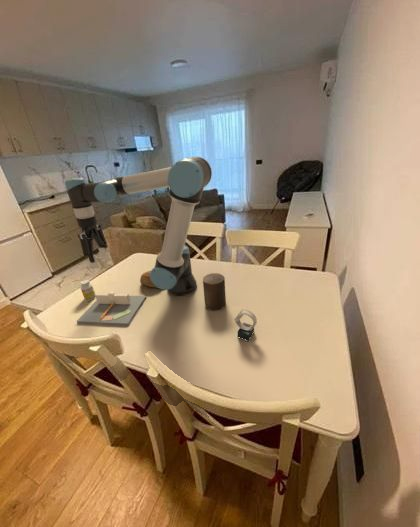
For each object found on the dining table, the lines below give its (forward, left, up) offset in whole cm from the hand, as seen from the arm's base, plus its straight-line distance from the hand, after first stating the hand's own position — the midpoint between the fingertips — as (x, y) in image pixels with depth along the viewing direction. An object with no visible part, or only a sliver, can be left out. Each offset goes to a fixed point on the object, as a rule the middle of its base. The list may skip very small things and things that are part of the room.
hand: (100, 263), depth 112 cm
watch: (-68, +22, -19) cm, 74 cm away
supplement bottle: (+11, +1, -19) cm, 22 cm away
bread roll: (-18, -12, -19) cm, 29 cm away
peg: (-6, +12, -17) cm, 22 cm away
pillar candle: (-54, +3, -19) cm, 57 cm away
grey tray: (-7, +10, -19) cm, 23 cm away
